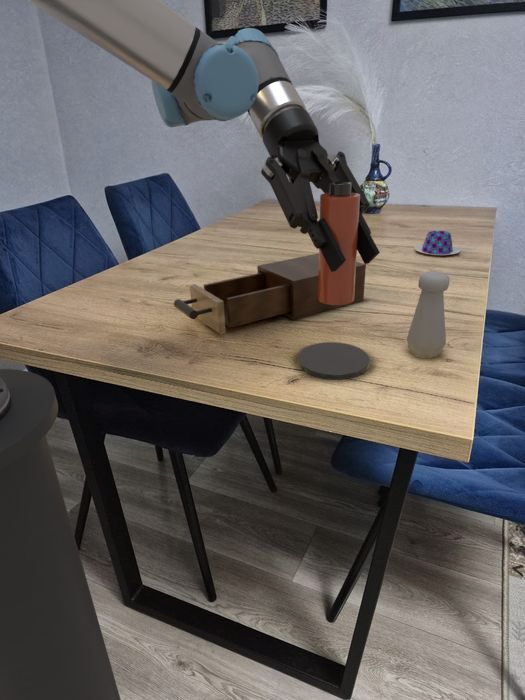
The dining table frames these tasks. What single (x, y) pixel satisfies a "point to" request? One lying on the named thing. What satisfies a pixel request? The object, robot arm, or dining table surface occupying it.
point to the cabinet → (308, 284)
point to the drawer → (237, 301)
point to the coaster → (333, 360)
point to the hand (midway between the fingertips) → (355, 261)
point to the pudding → (437, 244)
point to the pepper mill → (339, 243)
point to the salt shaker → (429, 316)
